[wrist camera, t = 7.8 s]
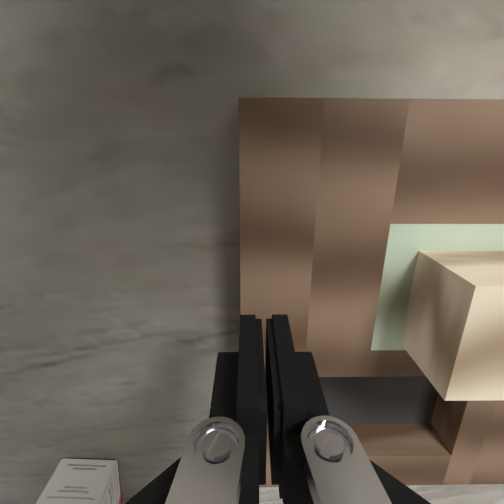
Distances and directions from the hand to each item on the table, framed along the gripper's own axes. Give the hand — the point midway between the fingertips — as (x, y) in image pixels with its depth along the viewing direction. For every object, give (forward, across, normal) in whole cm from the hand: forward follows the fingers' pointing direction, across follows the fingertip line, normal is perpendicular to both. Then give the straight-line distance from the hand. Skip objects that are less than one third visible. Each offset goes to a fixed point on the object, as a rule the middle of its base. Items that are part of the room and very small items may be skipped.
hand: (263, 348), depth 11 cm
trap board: (+9, -11, +4) cm, 15 cm away
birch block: (+6, -12, +2) cm, 14 cm away
